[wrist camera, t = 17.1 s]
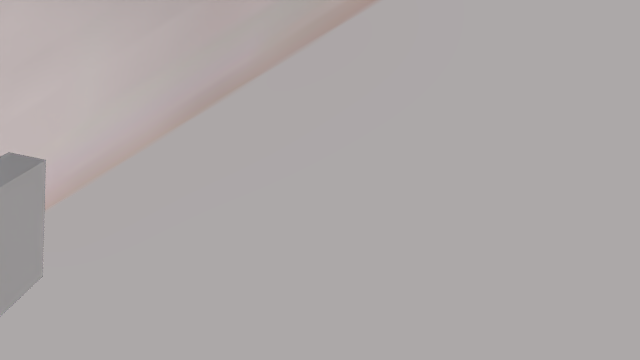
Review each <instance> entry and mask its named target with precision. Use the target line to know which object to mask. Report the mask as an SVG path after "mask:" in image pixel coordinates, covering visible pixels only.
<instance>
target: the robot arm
mask: <svg viewBox="0 0 640 360" xmlns="http://www.w3.org/2000/svg"><path fill="white" fill-rule="evenodd" d="M45 173H46V160H44V159H39V158H34V157H29V156H24V155H20V154H15V153H10V152H8V153H7V154H5V155H3V156H1V157H0V317H1V316H2V315H3V314H4V313H5V312H6V311H7V310H8V309H9V308H10V307H11V306H12V305H13V304H14V303H15V302H16V301H17V300H19V299H20V298H21V296H23V295H24V294H25V293H26V292H27V291H28V290H29V289H30V288H31V287H32V286H33V285H34V284H35V283H36V282H37V281H38V280H40V279H41V278H42V277H43V247H44V210H45Z"/></svg>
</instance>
